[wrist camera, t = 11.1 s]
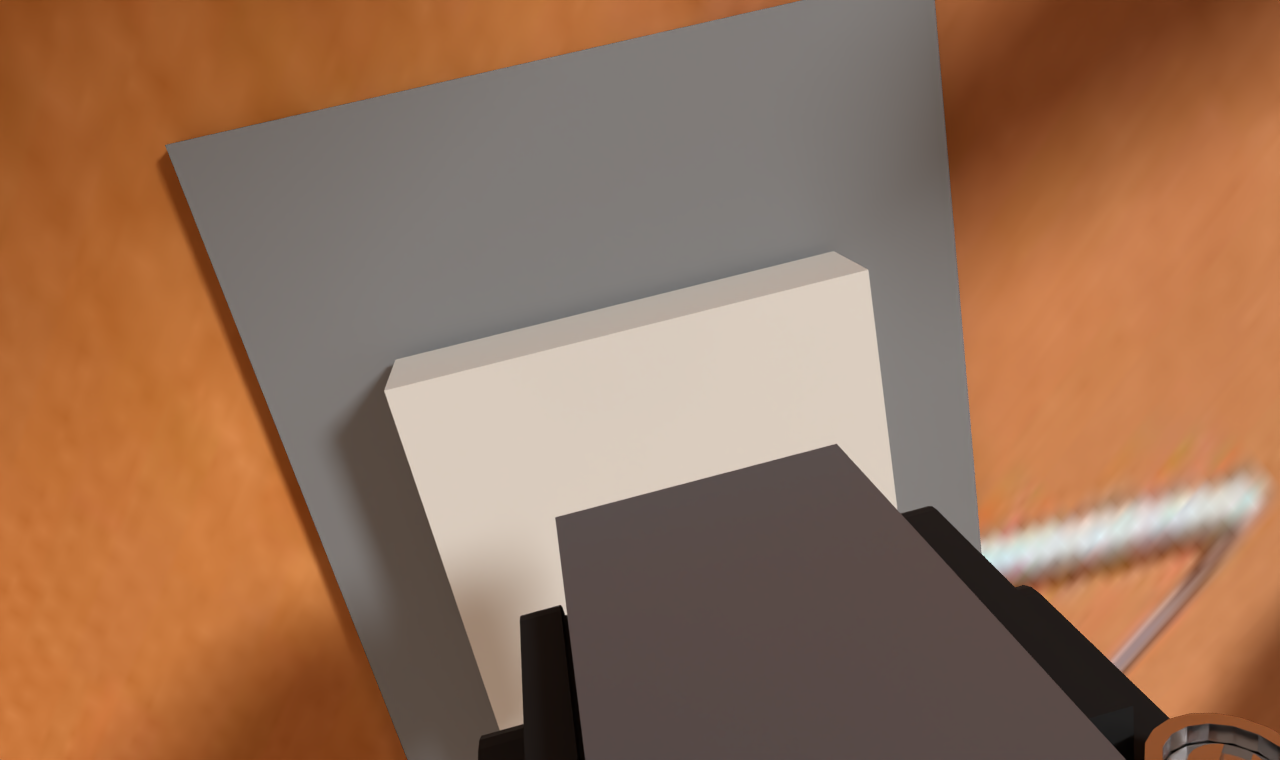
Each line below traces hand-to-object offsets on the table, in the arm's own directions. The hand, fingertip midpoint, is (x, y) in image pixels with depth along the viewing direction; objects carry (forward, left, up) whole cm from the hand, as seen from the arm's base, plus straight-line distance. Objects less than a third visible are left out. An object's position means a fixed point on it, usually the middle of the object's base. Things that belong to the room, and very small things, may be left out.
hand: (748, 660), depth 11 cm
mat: (+2, 0, -10) cm, 11 cm away
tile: (-2, 0, -9) cm, 9 cm away
